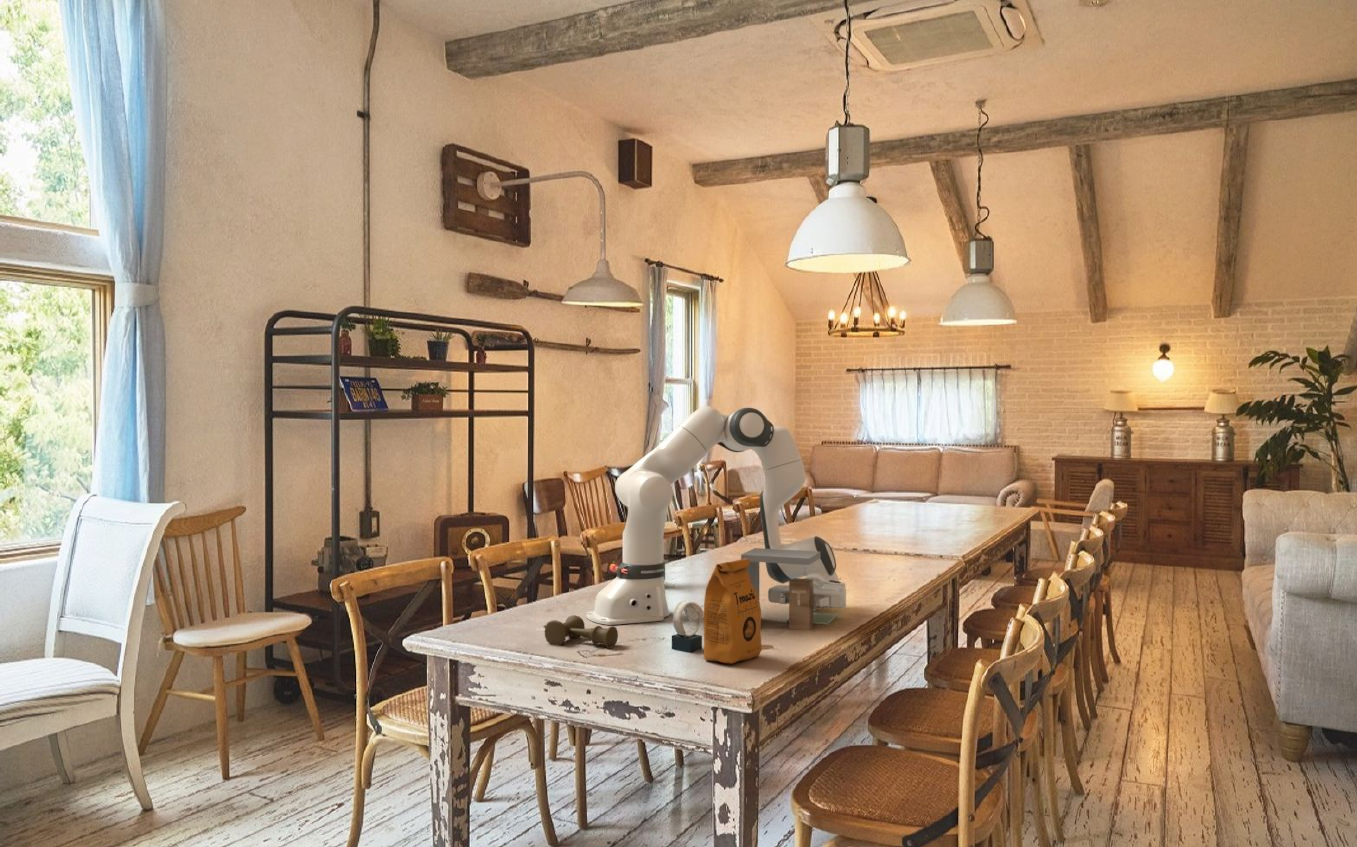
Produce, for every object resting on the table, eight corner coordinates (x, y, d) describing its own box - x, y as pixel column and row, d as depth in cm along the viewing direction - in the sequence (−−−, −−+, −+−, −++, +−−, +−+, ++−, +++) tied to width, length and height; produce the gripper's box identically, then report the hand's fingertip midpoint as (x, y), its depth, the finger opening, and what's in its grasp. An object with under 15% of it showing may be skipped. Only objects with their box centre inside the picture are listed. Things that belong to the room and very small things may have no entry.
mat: (796, 612, 258) (796, 611, 258) (836, 615, 253) (836, 614, 253) (786, 621, 247) (786, 619, 247) (827, 624, 243) (827, 623, 243)
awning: (755, 617, 251) (755, 548, 251) (820, 623, 244) (820, 551, 244) (741, 627, 240) (741, 554, 240) (809, 633, 233) (809, 558, 233)
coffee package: (768, 658, 211) (768, 559, 210) (730, 669, 202) (730, 566, 202) (735, 650, 218) (735, 554, 217) (697, 660, 209) (697, 561, 209)
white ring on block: (707, 647, 220) (707, 600, 220) (685, 654, 214) (685, 605, 214) (688, 643, 224) (688, 597, 224) (666, 650, 218) (666, 602, 217)
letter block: (794, 624, 243) (794, 578, 243) (813, 626, 242) (813, 579, 241) (789, 628, 239) (789, 581, 238) (808, 630, 237) (808, 582, 237)
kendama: (602, 654, 216) (531, 642, 226) (624, 646, 225) (554, 634, 234) (603, 628, 216) (532, 617, 226) (625, 621, 225) (555, 610, 234)
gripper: (775, 577, 256) (760, 586, 243) (851, 582, 248) (839, 592, 236) (775, 601, 256) (760, 611, 243) (851, 606, 248) (839, 617, 236)
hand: (800, 602), depth 239 cm, fingers open, 8 cm apart
